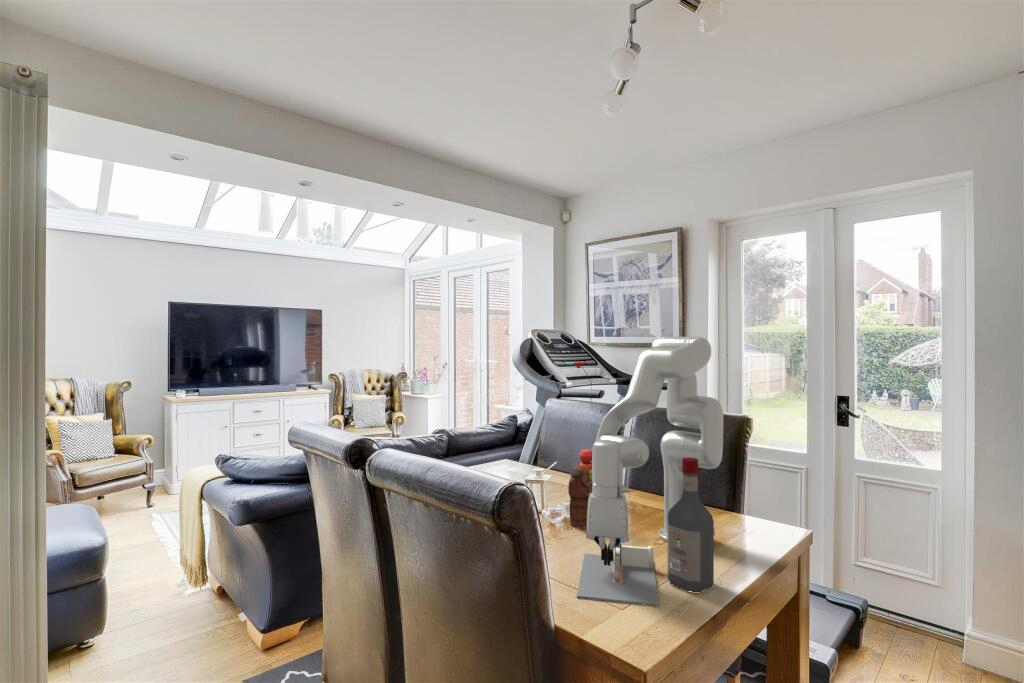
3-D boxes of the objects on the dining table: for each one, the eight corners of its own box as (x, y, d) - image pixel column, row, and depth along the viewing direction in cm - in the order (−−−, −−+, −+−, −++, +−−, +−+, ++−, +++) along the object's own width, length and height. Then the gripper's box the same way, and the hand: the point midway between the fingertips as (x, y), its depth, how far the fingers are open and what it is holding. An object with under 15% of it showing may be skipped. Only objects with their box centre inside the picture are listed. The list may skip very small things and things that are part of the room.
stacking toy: (572, 497, 194) (572, 447, 194) (592, 496, 196) (592, 446, 196) (580, 504, 186) (580, 451, 186) (600, 502, 188) (601, 450, 188)
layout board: (652, 561, 137) (652, 539, 137) (658, 606, 114) (658, 580, 114) (584, 555, 141) (584, 534, 141) (576, 597, 118) (576, 572, 118)
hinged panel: (615, 564, 133) (615, 546, 133) (620, 565, 133) (620, 546, 133) (614, 580, 124) (614, 560, 125) (620, 581, 124) (620, 561, 124)
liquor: (695, 596, 119) (695, 465, 119) (662, 581, 126) (662, 458, 126) (718, 585, 124) (718, 460, 124) (685, 571, 131) (685, 453, 131)
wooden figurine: (586, 528, 162) (586, 471, 162) (566, 525, 164) (566, 469, 164) (595, 516, 173) (595, 462, 173) (576, 514, 175) (576, 461, 175)
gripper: (637, 488, 132) (637, 560, 132) (579, 484, 135) (578, 554, 135) (638, 496, 125) (638, 573, 125) (576, 492, 128) (575, 566, 128)
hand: (607, 563), depth 130 cm, fingers closed
